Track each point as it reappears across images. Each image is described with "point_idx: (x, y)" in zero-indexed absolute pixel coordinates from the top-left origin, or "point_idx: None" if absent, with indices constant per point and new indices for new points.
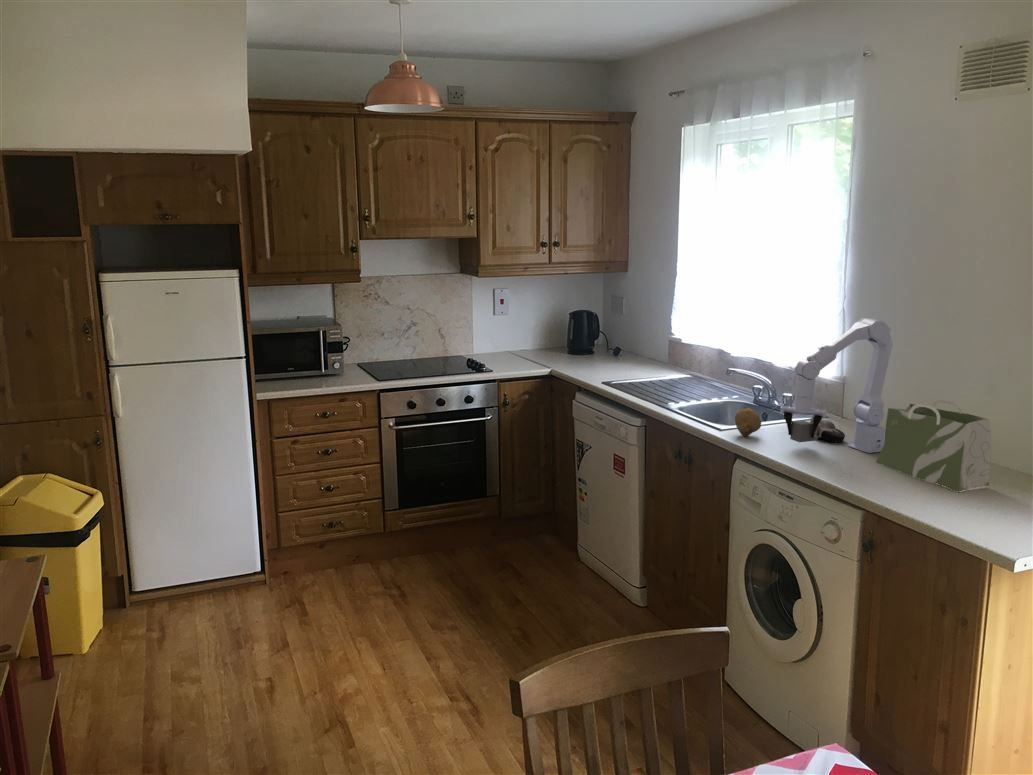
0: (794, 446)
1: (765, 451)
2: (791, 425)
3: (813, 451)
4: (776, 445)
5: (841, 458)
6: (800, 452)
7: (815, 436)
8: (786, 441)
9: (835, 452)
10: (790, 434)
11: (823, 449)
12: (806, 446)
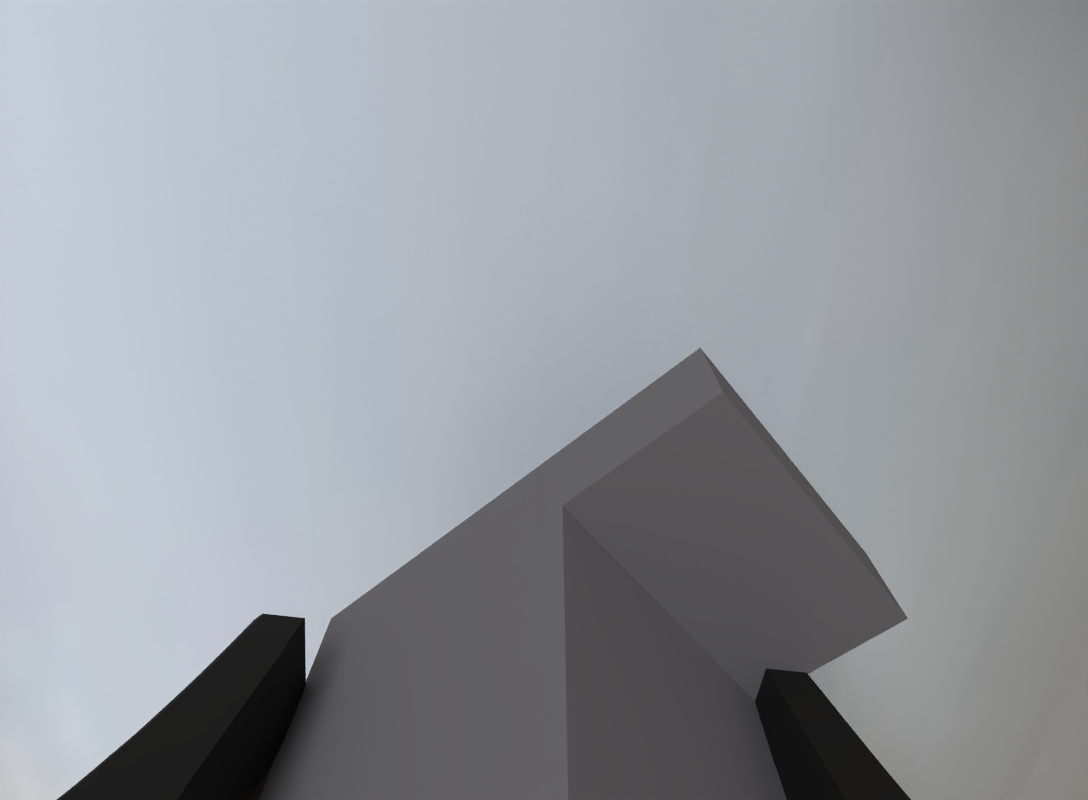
0: (447, 393)
1: (94, 764)
2: (203, 788)
3: None
4: (152, 434)
5: (1053, 767)
6: None
7: (849, 648)
8: (267, 49)
9: (1085, 527)
10: None
11: (933, 416)
12: (659, 318)
